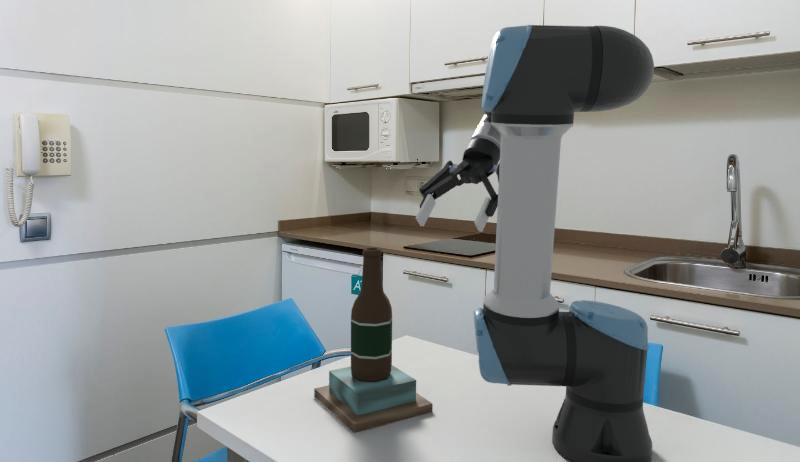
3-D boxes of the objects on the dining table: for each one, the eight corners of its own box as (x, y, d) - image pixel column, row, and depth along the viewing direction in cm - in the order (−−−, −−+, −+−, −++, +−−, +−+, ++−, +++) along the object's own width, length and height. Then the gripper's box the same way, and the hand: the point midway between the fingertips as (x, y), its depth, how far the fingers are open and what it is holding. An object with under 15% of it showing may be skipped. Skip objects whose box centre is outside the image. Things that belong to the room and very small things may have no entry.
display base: (432, 411, 104) (432, 382, 103) (354, 432, 96) (354, 401, 95) (385, 379, 119) (386, 354, 118) (314, 395, 110) (314, 368, 109)
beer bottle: (399, 372, 108) (401, 247, 105) (377, 386, 101) (378, 253, 98) (366, 364, 112) (366, 244, 109) (342, 377, 105) (342, 249, 102)
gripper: (544, 161, 118) (511, 242, 108) (442, 160, 132) (404, 231, 123) (535, 135, 113) (499, 216, 103) (430, 136, 128) (389, 208, 118)
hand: (447, 224), depth 113 cm, fingers open, 13 cm apart
